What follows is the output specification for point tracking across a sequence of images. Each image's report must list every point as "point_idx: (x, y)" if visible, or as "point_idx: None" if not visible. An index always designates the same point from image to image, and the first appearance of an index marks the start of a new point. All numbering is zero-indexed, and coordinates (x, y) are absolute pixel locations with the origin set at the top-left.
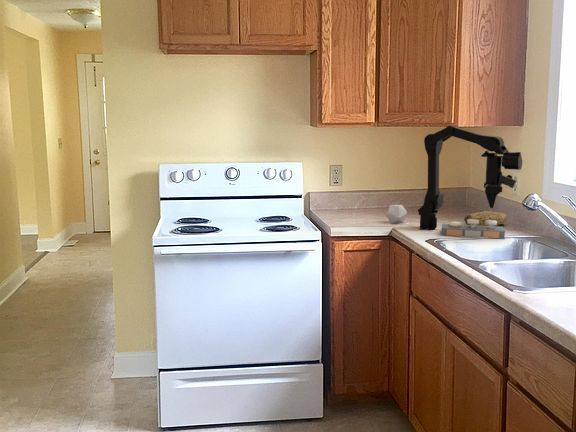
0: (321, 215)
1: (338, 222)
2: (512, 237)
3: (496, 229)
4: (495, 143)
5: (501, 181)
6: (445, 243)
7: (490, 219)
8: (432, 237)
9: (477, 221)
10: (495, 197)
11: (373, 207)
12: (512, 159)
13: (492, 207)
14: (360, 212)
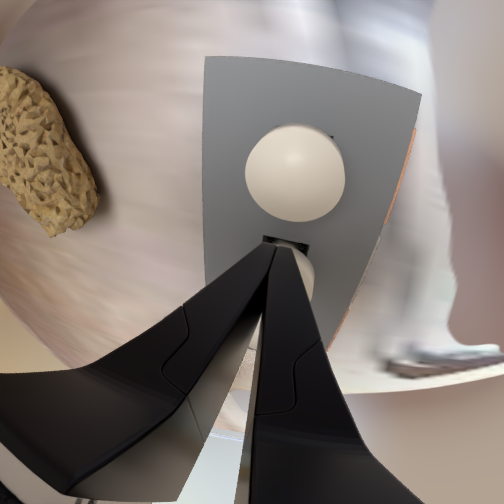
0: None
1: None
2: (341, 19)
3: (348, 129)
4: None
5: None
6: (455, 348)
7: (49, 133)
8: (356, 362)
9: (303, 270)
10: (339, 401)
11: (26, 325)
12: None
13: (290, 258)
14: (75, 360)
